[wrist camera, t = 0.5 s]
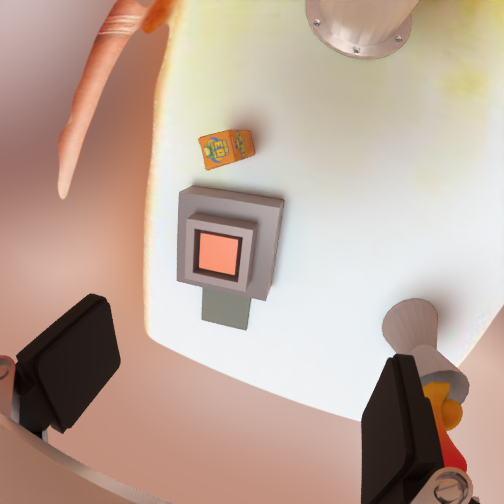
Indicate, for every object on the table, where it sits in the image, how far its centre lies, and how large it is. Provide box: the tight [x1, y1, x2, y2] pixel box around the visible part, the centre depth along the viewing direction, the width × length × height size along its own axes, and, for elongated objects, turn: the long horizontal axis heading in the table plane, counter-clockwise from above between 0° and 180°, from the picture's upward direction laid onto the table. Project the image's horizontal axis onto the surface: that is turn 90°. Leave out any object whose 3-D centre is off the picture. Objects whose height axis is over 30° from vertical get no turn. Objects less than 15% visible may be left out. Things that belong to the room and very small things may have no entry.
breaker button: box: [199, 230, 243, 275], centre depth 38 cm, size 4×4×3 cm
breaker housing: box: [177, 186, 284, 301], centre depth 39 cm, size 12×12×6 cm
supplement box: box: [198, 130, 255, 170], centre depth 33 cm, size 3×3×10 cm
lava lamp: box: [382, 299, 479, 503], centre depth 25 cm, size 9×9×35 cm
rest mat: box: [202, 287, 251, 330], centre depth 46 cm, size 7×7×1 cm
